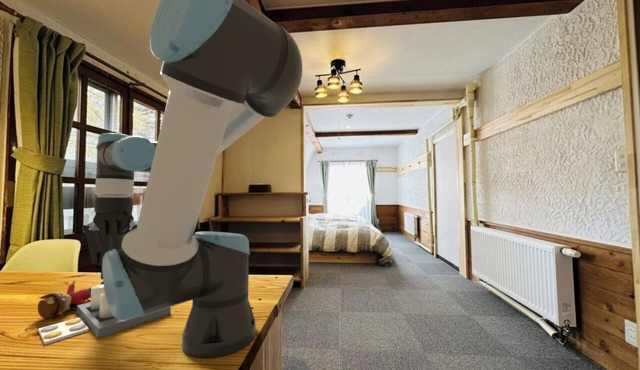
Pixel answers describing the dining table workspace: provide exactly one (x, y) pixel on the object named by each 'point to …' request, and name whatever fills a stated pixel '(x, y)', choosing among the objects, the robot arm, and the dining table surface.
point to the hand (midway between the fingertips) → (110, 292)
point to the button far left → (96, 296)
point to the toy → (63, 301)
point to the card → (62, 330)
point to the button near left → (104, 307)
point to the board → (113, 320)
